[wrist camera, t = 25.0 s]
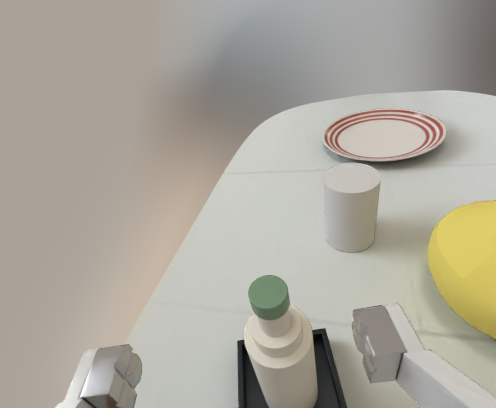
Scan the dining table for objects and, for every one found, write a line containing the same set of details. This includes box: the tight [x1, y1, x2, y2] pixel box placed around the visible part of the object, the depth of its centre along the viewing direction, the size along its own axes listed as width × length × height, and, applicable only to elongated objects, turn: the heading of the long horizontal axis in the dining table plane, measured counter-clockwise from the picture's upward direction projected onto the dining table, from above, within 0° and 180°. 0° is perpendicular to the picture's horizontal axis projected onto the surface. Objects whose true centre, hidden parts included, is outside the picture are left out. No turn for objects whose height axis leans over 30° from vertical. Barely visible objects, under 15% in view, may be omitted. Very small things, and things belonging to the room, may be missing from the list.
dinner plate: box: [322, 108, 447, 161], centre depth 73 cm, size 28×27×3 cm
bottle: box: [244, 275, 318, 408], centre depth 28 cm, size 6×6×18 cm
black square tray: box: [237, 329, 347, 408], centre depth 33 cm, size 11×11×3 cm
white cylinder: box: [323, 163, 381, 252], centre depth 48 cm, size 8×8×12 cm
